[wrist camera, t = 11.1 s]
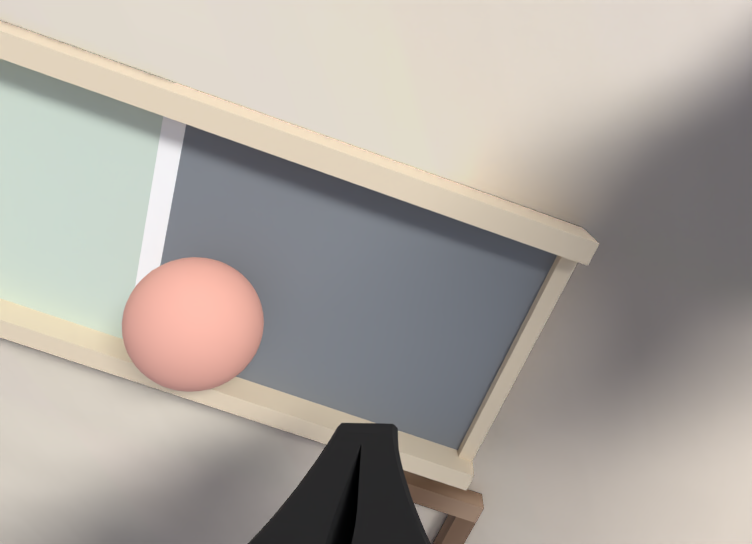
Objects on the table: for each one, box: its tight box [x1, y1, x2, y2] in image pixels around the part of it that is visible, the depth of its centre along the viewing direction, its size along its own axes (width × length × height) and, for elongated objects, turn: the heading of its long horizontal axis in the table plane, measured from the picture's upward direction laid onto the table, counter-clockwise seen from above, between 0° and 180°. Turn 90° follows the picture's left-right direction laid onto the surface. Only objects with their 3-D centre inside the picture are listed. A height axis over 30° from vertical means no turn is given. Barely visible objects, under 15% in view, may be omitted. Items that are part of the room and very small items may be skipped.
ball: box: [122, 257, 264, 392], centre depth 17 cm, size 4×4×4 cm
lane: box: [0, 20, 599, 490], centre depth 18 cm, size 24×11×4 cm, turn 71°
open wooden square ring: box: [403, 470, 484, 544], centre depth 23 cm, size 5×5×1 cm
